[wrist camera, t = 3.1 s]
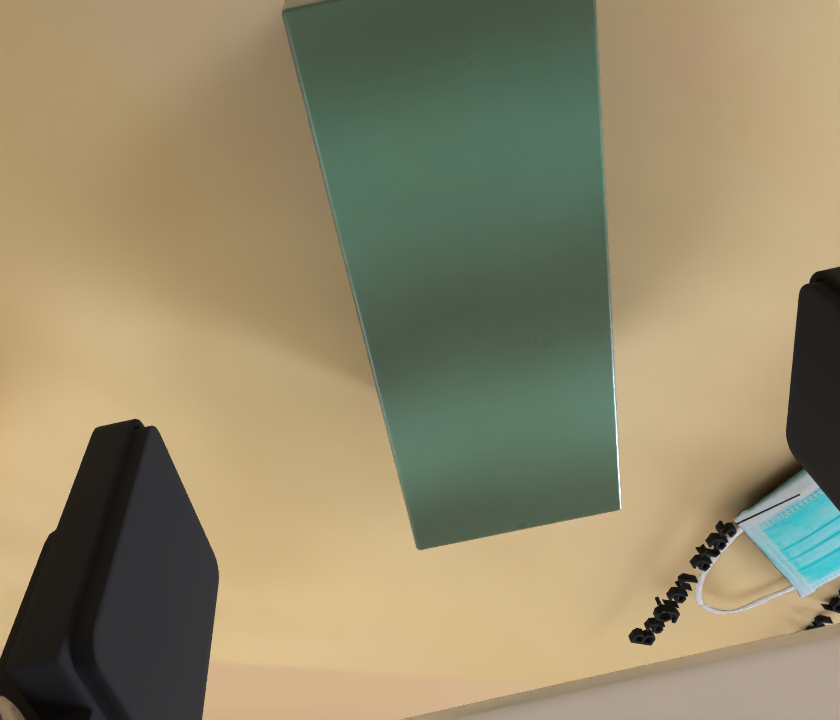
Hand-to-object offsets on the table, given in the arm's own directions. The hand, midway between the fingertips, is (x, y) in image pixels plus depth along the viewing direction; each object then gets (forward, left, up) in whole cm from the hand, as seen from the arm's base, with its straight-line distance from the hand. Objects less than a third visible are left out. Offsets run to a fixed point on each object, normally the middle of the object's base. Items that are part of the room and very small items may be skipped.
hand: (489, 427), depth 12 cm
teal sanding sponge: (-1, 0, -8) cm, 8 cm away
